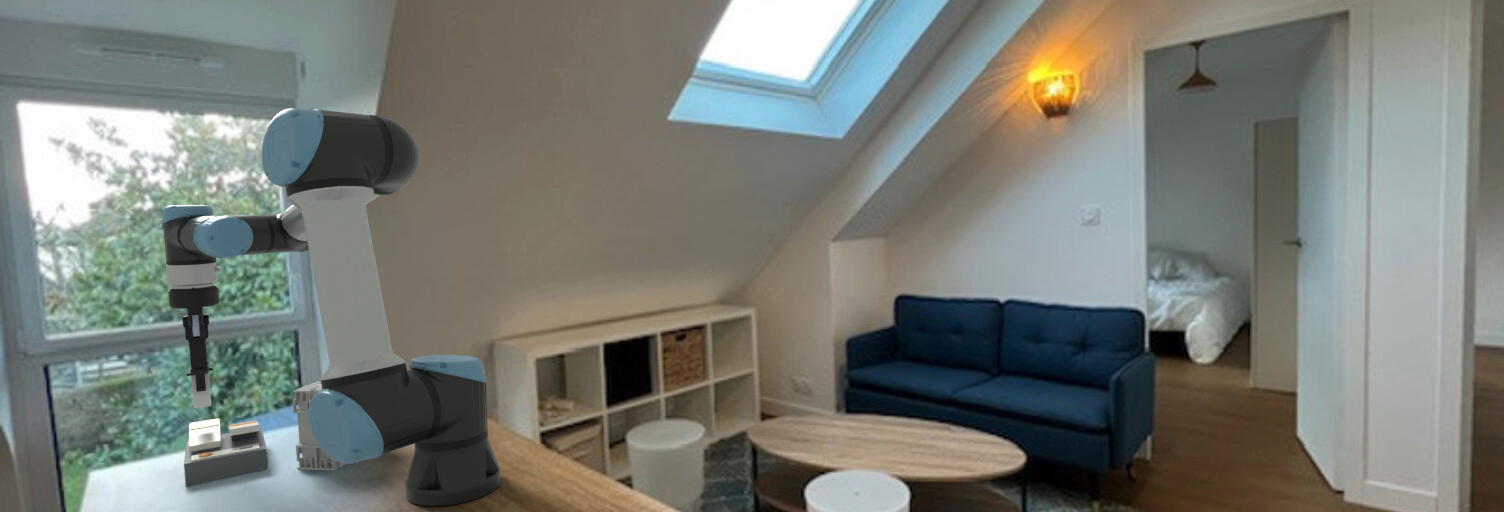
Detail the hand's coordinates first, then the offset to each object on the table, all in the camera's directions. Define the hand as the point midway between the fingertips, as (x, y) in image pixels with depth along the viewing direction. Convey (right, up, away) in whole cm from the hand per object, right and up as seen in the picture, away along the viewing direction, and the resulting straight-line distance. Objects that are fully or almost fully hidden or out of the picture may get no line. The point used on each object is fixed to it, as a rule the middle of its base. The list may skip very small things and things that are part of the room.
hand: (202, 406), depth 135 cm
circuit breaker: (+26, -10, +2) cm, 28 cm away
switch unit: (+6, -11, -2) cm, 13 cm away
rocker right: (+7, -5, +1) cm, 9 cm away
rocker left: (+2, -5, -2) cm, 6 cm away
